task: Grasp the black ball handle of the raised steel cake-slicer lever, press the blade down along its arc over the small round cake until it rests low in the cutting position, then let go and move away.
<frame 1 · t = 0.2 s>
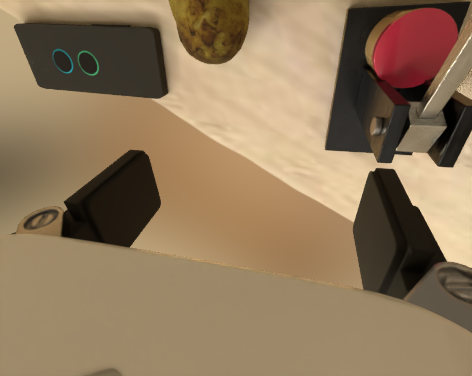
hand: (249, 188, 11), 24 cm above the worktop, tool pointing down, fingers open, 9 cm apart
slicer: (381, 87, 28), on the worktop
cake: (396, 43, 25), resting on slicer
smart home device: (97, 59, 35), on the worktop
slicer arm: (463, 56, 14), point 14 cm above the worktop, hinge at 25.0°
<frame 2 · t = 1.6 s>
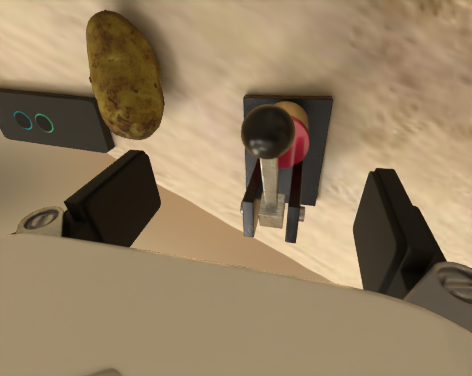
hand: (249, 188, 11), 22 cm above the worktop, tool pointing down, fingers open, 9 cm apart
slicer: (283, 152, 34), on the worktop
cake: (284, 124, 30), resting on slicer
potato: (145, 72, 32), on the worktop
smart home device: (53, 118, 40), on the worktop
slicer arm: (270, 180, 20), point 14 cm above the worktop, hinge at 25.0°
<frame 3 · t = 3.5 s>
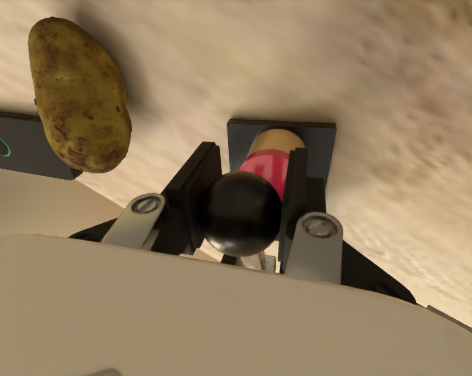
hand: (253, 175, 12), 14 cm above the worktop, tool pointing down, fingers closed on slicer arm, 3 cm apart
slicer: (276, 185, 28), on the worktop
cake: (277, 155, 25), resting on slicer
potato: (110, 90, 27), on the worktop
smart home device: (12, 139, 35), on the worktop
slicer arm: (252, 253, 14), point 14 cm above the worktop, hinge at 25.0°, touching gripper
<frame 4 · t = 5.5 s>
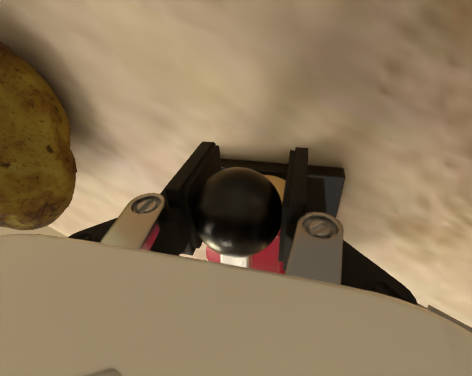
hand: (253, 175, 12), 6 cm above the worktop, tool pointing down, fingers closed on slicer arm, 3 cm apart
slicer: (267, 235, 23), on the worktop
cake: (266, 205, 19), resting on slicer
potato: (52, 117, 21), on the worktop
slicer arm: (235, 322, 11), point 11 cm above the worktop, hinge at -14.7°, touching gripper
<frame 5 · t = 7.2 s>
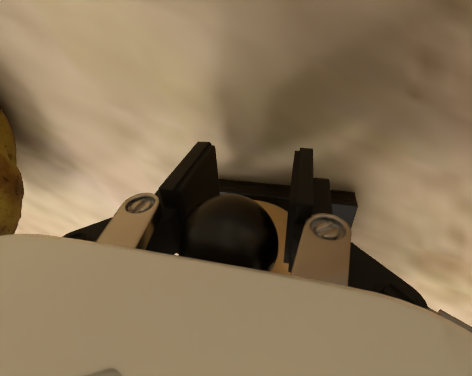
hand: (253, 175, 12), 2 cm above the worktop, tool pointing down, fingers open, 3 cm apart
slicer: (259, 266, 19), on the worktop
cake: (256, 236, 15), resting on slicer
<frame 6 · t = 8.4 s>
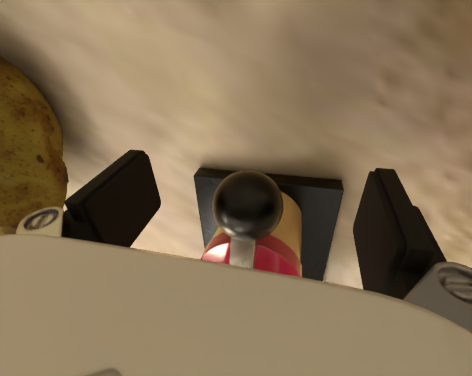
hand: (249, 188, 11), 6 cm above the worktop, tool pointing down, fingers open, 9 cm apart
slicer: (264, 248, 22), on the worktop
cake: (262, 218, 19), resting on slicer
potato: (45, 126, 20), on the worktop
slicer arm: (237, 319, 12), point 9 cm above the worktop, hinge at -30.5°
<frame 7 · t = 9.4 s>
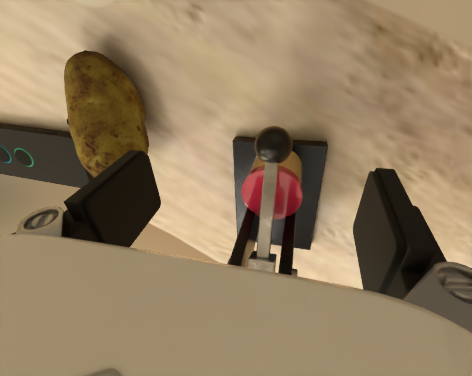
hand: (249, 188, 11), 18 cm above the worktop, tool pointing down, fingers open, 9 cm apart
slicer: (276, 195, 32), on the worktop
cake: (276, 168, 29), resting on slicer
potato: (129, 110, 31), on the worktop
smart home device: (35, 151, 38), on the worktop
slicer arm: (267, 208, 22), point 9 cm above the worktop, hinge at -30.5°
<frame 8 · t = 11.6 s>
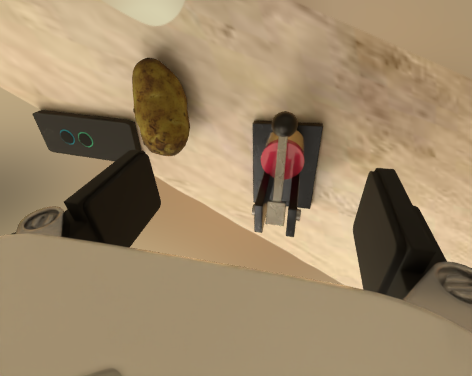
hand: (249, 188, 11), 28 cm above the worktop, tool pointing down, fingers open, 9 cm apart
slicer: (284, 165, 42), on the worktop
cake: (285, 144, 38), resting on slicer
potato: (173, 101, 40), on the worktop
smart home device: (92, 134, 48), on the worktop
slicer arm: (280, 168, 32), point 9 cm above the worktop, hinge at -30.5°
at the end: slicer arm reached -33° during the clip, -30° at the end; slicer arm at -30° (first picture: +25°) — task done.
